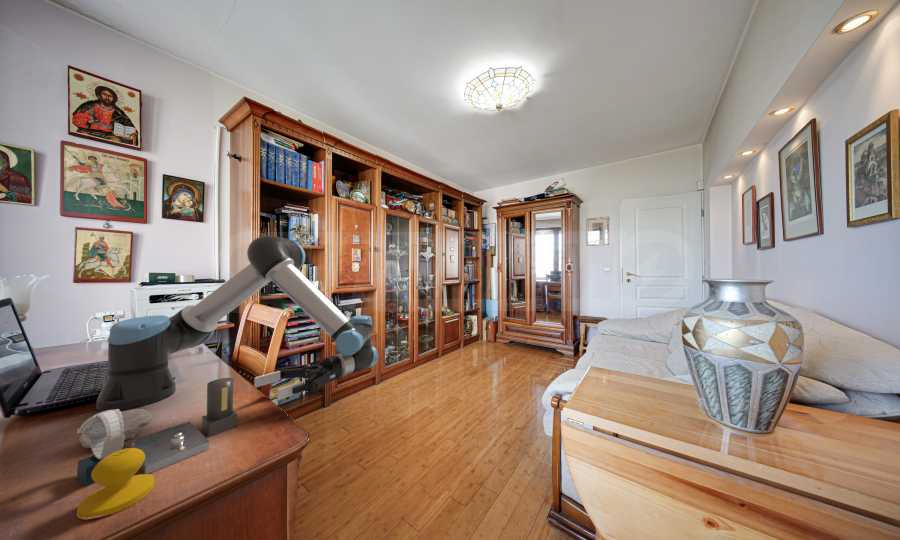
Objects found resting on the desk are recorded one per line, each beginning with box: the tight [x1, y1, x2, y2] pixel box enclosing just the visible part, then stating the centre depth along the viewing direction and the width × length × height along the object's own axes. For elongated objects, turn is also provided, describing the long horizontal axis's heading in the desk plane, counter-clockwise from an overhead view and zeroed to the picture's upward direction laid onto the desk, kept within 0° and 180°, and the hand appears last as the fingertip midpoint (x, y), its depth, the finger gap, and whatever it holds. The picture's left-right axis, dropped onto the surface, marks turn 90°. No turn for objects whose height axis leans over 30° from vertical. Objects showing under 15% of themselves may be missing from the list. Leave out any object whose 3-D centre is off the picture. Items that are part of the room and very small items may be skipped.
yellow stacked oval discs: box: [76, 447, 156, 518], centre depth 44 cm, size 8×8×8 cm
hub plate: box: [131, 420, 210, 475], centre depth 57 cm, size 14×9×4 cm, turn 56°
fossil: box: [79, 408, 155, 449], centre depth 60 cm, size 9×6×10 cm
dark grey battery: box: [201, 377, 238, 438], centre depth 65 cm, size 5×5×11 cm
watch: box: [76, 409, 131, 487], centre depth 50 cm, size 6×8×11 cm
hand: (265, 388), depth 73 cm, fingers open, 13 cm apart
